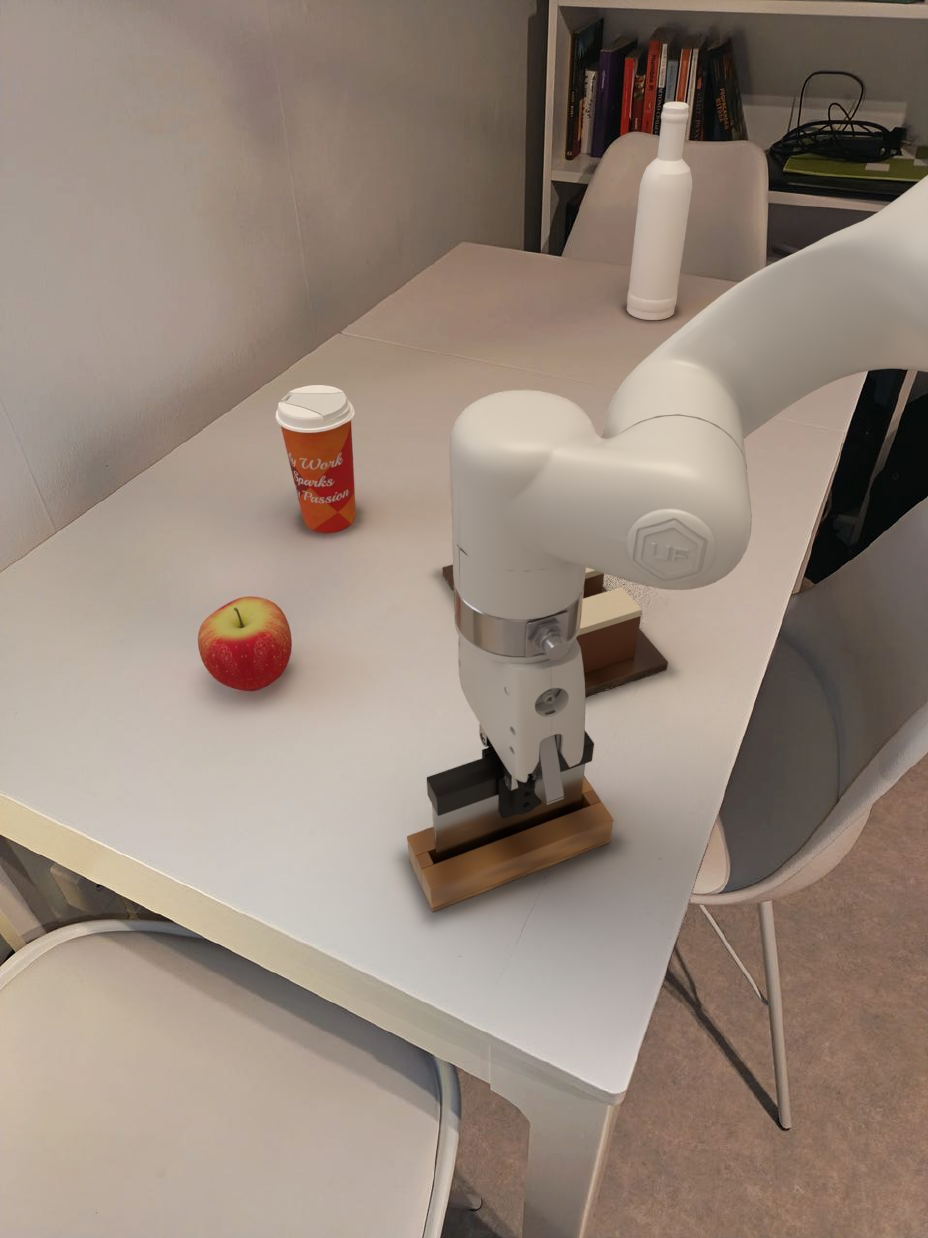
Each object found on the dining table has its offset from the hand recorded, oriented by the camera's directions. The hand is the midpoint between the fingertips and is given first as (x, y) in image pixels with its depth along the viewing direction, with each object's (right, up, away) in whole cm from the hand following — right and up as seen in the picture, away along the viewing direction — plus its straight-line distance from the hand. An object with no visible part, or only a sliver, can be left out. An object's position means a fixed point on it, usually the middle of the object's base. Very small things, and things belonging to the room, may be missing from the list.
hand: (511, 793), depth 64 cm
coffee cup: (-19, +24, +39) cm, 50 cm away
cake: (+5, +13, +26) cm, 29 cm away
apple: (-23, +7, +20) cm, 31 cm away
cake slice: (+8, +9, +19) cm, 22 cm away
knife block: (0, -5, +5) cm, 7 cm away
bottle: (+27, +63, +81) cm, 106 cm away
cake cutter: (0, -5, +4) cm, 7 cm away
